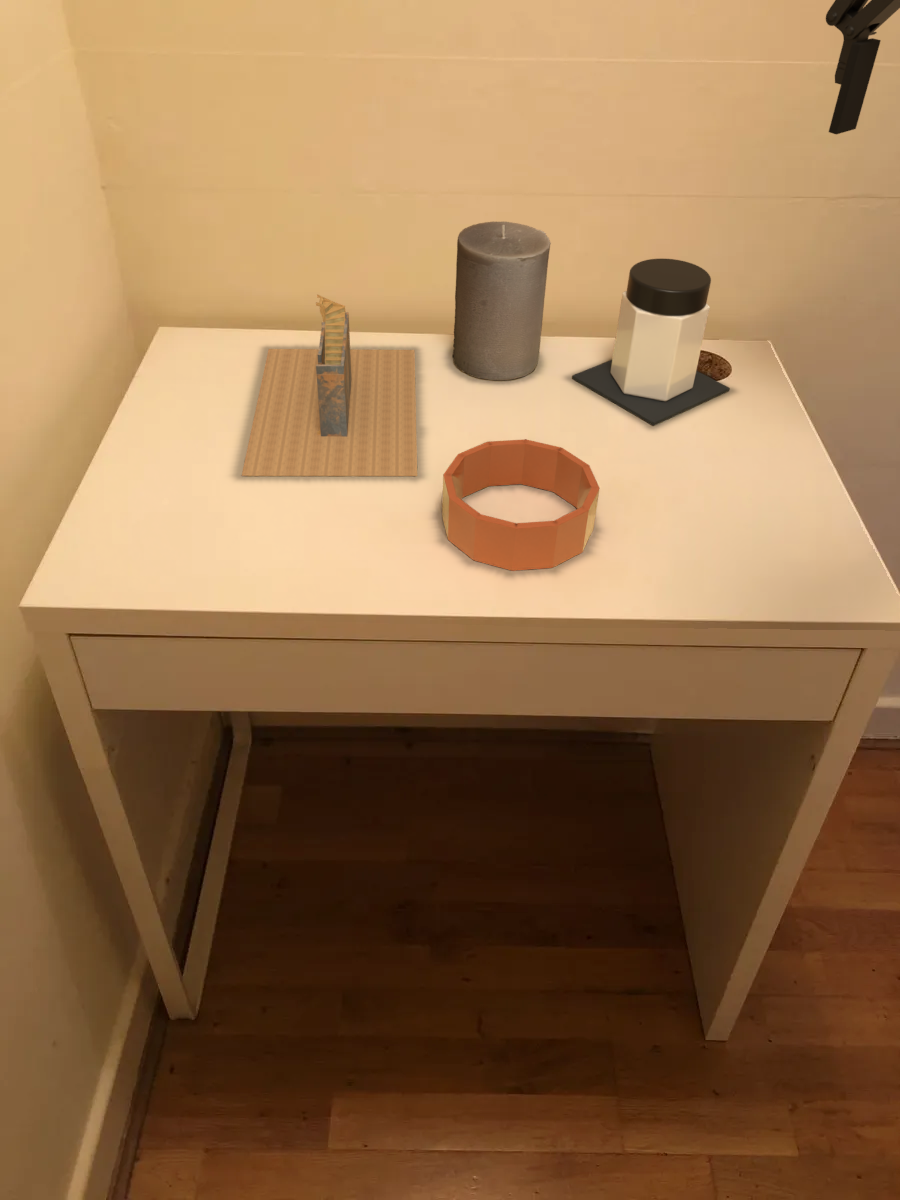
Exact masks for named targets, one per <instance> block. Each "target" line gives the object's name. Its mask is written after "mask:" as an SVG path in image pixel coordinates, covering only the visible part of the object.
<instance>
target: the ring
mask: <svg viewBox="0 0 900 1200" xmlns="http://www.w3.org/2000/svg"><path fill="white" fill-rule="evenodd" d="M442 475H443V476H442V503H441V504H442V507H441V510H442V511H441V517H442V521H443V525H444V529H445V534H446V537H447V541H449V542H450V543H451V544H452V545H454V546H455V547H456V548H457V549H458V550H460V551H461V552H463V553H464V554H465V555H466V556H468V557H469V558H470V559H471V560H472V561H475V562H478V563H483V564H486V565H489V566H494V567H497V568H500V569H504V570H509V571H512V572H514V571H524V570H539V569H552V568H553V569H554V568H556V567H558V566H559V565H561V564H562V563H564V562H566V561H568V560H570V559H572V558H574V557H576V556H578V555H580V554H582V553H583V552H584V549H585V547H586V546H587V543H588V542H589V539H590V537H591V535H592V533H593V531H594V527H595V521H596V514H597V507H598V501H599V496H600V495H599V494H600V490H601V489H600V486H599V484H598V481H597V479H596V477H595V474H594V472H593V470H592V469H591V466H590V465H589V464H588V463H587V462H585V461H583V460H582V459H580V458H579V457H577V456H576V455H575V454H573V453H571V452H570V451H568V450H567V449H565V448H564V447H561V446H556V445H553V444H548V443H544V442H540V441H536V440H531V439H527V438H524V439H508V440H492V441H491V440H490V441H486V442H483V443H480V444H478V445H476V446H474V447H471V448H469V449H466V450H464V451H462V452H459V453H458V454H457V455H456V456H455V457H454V459H453V460H452V462H450V465H448V467H447V468H446V470H445V471H444V473H443V474H442ZM512 485H522V486H523V485H524V486H528V487H531V488H535V489H539V490H543V491H548V492H552V493H554V494H556V495H557V496H559V497H560V498H561V499H563V500H564V501H565V502H567V503H569V504H570V505H572V506H573V507H574V508H576V509H574V510H572V511H571V512H569V513H567V514H564V515H562V516H560V517H558V518H556V519H554V520H545V521H544V520H543V521H529V522H514V521H509V520H507V519H506V520H505V519H502V518H498V517H494V516H490V515H487V514H482V513H480V512H479V511H477V510H476V509H474V508H473V507H472V506H470V505H469V504H468V503H467V502H466V501H464V500H463V499H464V498H465V497H468V496H470V495H472V494H474V493H477V492H479V491H481V490H483V489H486V488H488V487H494V486H495V487H498V486H512Z"/></svg>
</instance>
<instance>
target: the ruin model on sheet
mask: <svg viewBox="0 0 900 1200" xmlns="http://www.w3.org/2000/svg"><path fill="white" fill-rule="evenodd" d="M316 297H317V298H318V299H319V301H318V302H315V307H319V313H320V315H321V317H322V321H321V330H320V335H319V336H320V338H319V345H318V348H268V351H267V355H266V360H265V364H264V369H263V373H262V379H261V383H260V387H259V393H258V397H257V402H256V407H255V411H254V416H253V420H252V424H251V428H250V429H251V430H250V435H249V439H248V443H247V449H246V453H245V458H244V464H243V467H242V472H241V477H418V451H417V450H418V448H417V444H418V443H417V404H416V402H417V400H416V399H417V397H416V357H415V356H416V355H415V349H354V348H353V349H351V336H350V314H349V312H348V311H347V312H346V305H343V304H341V303H338V302H335V301H333V300H331V299H328V298H326V297H324V296H322V295H320V294H316Z"/></svg>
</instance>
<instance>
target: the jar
mask: <svg viewBox="0 0 900 1200" xmlns="http://www.w3.org/2000/svg"><path fill="white" fill-rule="evenodd" d="M711 283H712V278H711V276H710V273H709V272H708V271H707V270H706V269H704V268H703V267H700V266H699V265H697V264H695V263H692V262H688V261H686V260H681V259H674V258H650V259H645V260H640V261H639V262H637V263H635V264H633V265H632V266H631V267H630V270H629V273H628V279H627V286H626V290H625V291H623V292H622V293H621V299H620V304H619V305H620V306H619V314H618V319H617V325H616V326H617V327H616V333H615V340H614V346H613V351H612V352H613V353H612V359H611V360H612V365H611V375H612V376H613V378H614V379H615V381H616V382H617V384H618V385H619V387H620V388H621V390H622V392H623V393H624V394H627V395H633V396H638V397H643V398H649V399H654V400H659V401H668V400H670V399H672V398H674V397H676V396H678V395H680V394H682V393H684V392H686V391H688V390H690V389H692V388H693V384H694V379H695V375H696V371H698V365H699V361H700V356H701V351H702V346H703V341H704V337H705V333H706V327H707V324H708V323H707V322H708V319H709V314H710V311H711V310H710V309H711V307H710V305H709V304H708V297H709V293H710V289H711Z"/></svg>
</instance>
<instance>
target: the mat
mask: <svg viewBox="0 0 900 1200" xmlns="http://www.w3.org/2000/svg"><path fill="white" fill-rule="evenodd" d="M611 365H612V359H610V360H608V361H605V362H603V363H601V364H598V365H595V366H593V367H590V368H587V369H585V370H583V371H580V372H578V373H575V374H572V376H571V379H572V380H574V381H576V382H577V383H579V384H580V385H582V386H584V387H585V388H587V389H589V390H591V391H592V392H594V393H596V394H597V395H599V396H601V397H603V398H605V399H606V400H608V401H610V402H611V403H613V404H615V405H617V407H620V408H621V409H623V410H625V411H627V412H628V413H630V414H632V415H634V416H635V417H637V418H639V419H641V420H642V421H644V422H646V423H647V424H649V425H651V426H656V425H658V424H661V423H663V422H665V421H667V420H669V419H671V418H673V417H676V416H678V415H680V414H683V413H685V412H686V411H687V412H688V411H689V410H691V409H694V408H695V407H697V406H700V405H703V404H704V403H706V402H709V401H711V400H713V399H715V398H717V397H719V396H722V395H724V394H726V393H729V392H730V390H731V387H729V386H727V385H725V384H723V383H721V382H720V381H718V380H715V379H714V378H711V377H710V376H708V375H706V374H704V373H702V372H700V371H698V370H696V375H695V379H694V384H693V388H692V389H690V390H688V391H686V392H684V393H682V394H680V395H678V396H676V397H674V398H672V399H670V400H668V401H659V400H654V399H649V398H643V397H638V396H633V395H627V394H624V393H623V392H622V390H621V388H620V387H619V385H618V384H617V382H616V381H615V379H614V378H613V376H612V375H611Z"/></svg>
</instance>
